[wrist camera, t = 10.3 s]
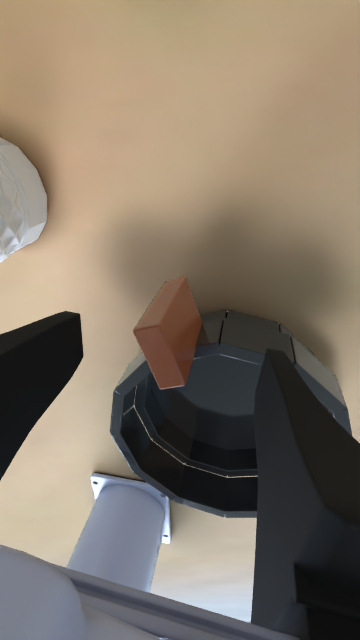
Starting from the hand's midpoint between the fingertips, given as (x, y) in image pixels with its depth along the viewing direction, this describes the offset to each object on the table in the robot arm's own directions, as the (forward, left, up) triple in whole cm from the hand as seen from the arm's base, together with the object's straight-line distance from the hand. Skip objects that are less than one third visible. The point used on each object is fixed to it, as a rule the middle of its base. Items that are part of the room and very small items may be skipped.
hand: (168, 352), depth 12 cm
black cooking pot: (-7, -2, -8) cm, 11 cm away
